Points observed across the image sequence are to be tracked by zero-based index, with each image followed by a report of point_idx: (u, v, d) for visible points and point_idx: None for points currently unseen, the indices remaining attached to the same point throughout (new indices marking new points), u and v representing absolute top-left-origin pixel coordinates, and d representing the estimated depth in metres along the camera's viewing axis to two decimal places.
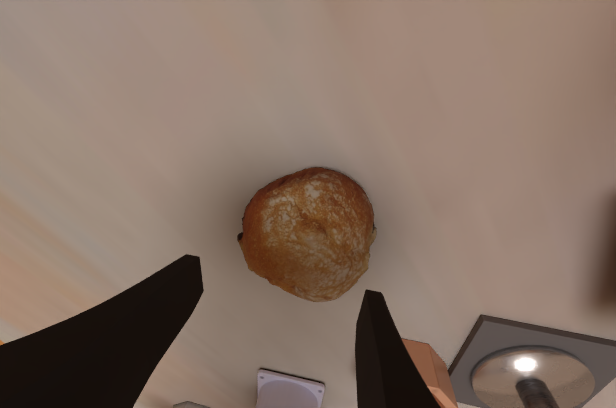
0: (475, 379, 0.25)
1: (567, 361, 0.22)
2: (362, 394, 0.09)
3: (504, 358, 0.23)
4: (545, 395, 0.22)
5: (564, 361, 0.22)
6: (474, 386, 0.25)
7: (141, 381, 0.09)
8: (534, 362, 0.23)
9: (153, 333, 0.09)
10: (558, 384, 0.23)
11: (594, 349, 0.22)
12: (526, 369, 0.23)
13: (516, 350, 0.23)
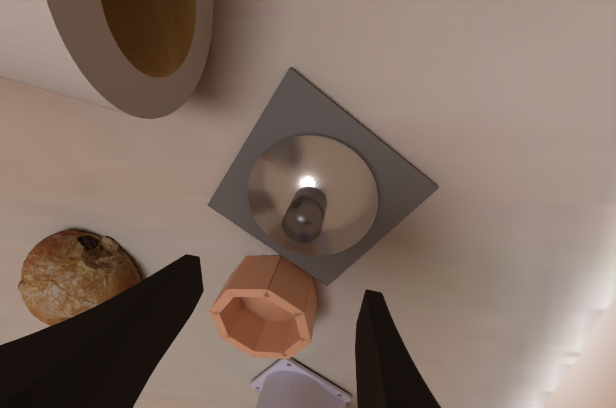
0: (283, 245, 0.21)
1: (267, 156, 0.18)
2: (362, 394, 0.09)
3: (252, 211, 0.20)
4: (291, 201, 0.18)
5: (266, 159, 0.18)
6: (296, 251, 0.21)
7: (141, 381, 0.09)
8: (263, 187, 0.19)
9: (153, 333, 0.09)
10: (310, 174, 0.18)
11: (272, 119, 0.17)
12: (275, 197, 0.19)
13: None
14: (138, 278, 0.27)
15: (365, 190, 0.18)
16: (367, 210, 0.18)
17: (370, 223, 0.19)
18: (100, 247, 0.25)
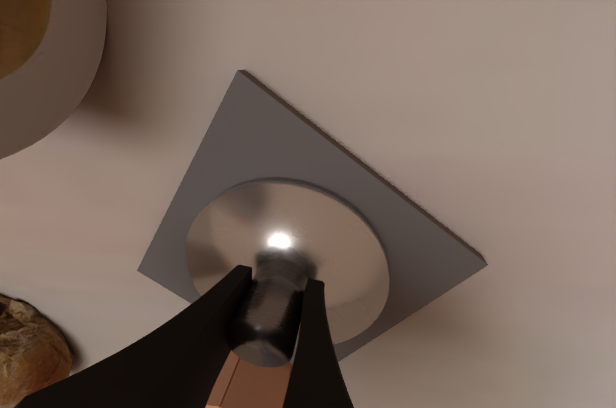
0: None
1: (211, 213, 0.11)
2: None
3: (197, 287, 0.13)
4: (248, 288, 0.11)
5: (210, 217, 0.11)
6: None
7: (205, 397, 0.09)
8: (209, 256, 0.12)
9: (216, 348, 0.09)
10: (280, 242, 0.11)
11: (217, 154, 0.11)
12: (228, 270, 0.12)
13: None
14: (65, 351, 0.20)
15: (369, 267, 0.11)
16: (372, 295, 0.12)
17: (376, 312, 0.12)
18: (7, 315, 0.19)
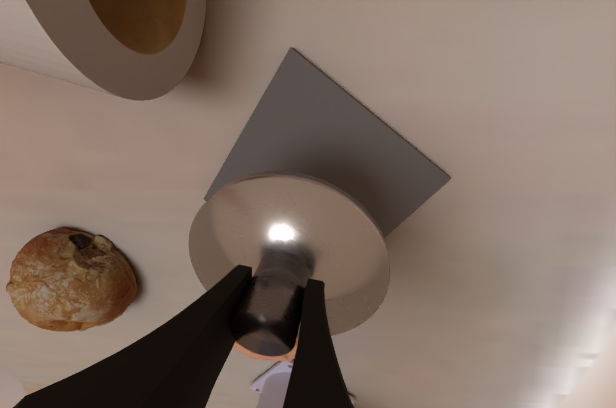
0: None
1: (213, 206, 0.11)
2: None
3: (200, 279, 0.13)
4: (251, 280, 0.11)
5: (212, 211, 0.11)
6: None
7: (205, 397, 0.09)
8: (212, 249, 0.12)
9: (216, 348, 0.09)
10: (282, 235, 0.11)
11: (272, 105, 0.16)
12: (231, 263, 0.13)
13: None
14: (133, 279, 0.26)
15: (369, 260, 0.11)
16: (373, 287, 0.12)
17: (377, 304, 0.12)
18: (93, 246, 0.24)
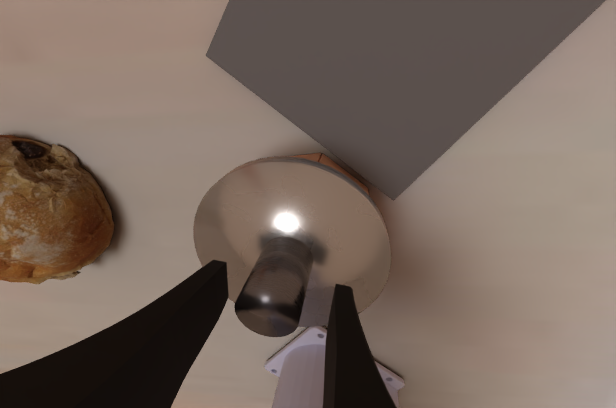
0: None
1: (222, 189, 0.11)
2: (326, 385, 0.09)
3: (202, 263, 0.14)
4: (256, 262, 0.11)
5: (220, 193, 0.11)
6: None
7: (174, 390, 0.09)
8: (216, 232, 0.12)
9: (185, 341, 0.09)
10: (288, 220, 0.12)
11: None
12: (235, 247, 0.13)
13: None
14: (108, 212, 0.19)
15: (372, 247, 0.11)
16: (374, 275, 0.12)
17: (376, 292, 0.13)
18: (48, 159, 0.17)
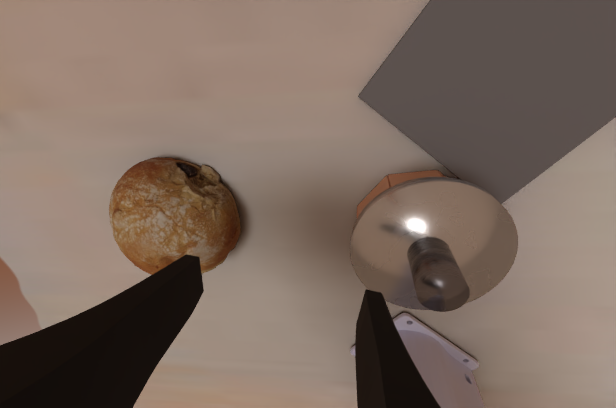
0: None
1: (388, 201, 0.15)
2: (362, 394, 0.09)
3: (352, 259, 0.17)
4: (417, 257, 0.15)
5: (386, 204, 0.15)
6: (396, 303, 0.18)
7: (141, 381, 0.09)
8: (373, 234, 0.16)
9: (153, 333, 0.09)
10: (437, 224, 0.15)
11: None
12: (385, 246, 0.16)
13: None
14: (238, 220, 0.23)
15: (502, 245, 0.15)
16: (498, 266, 0.16)
17: (498, 280, 0.16)
18: (200, 177, 0.21)
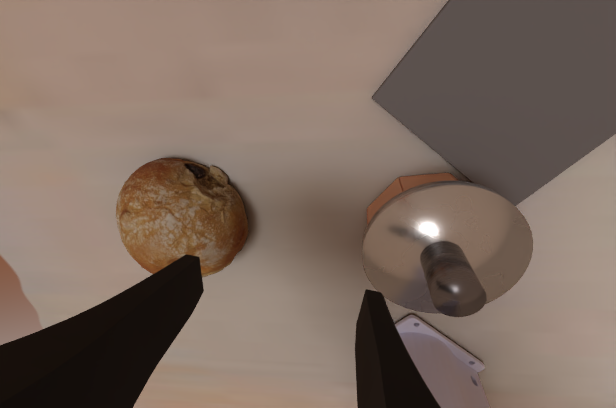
0: (391, 300, 0.18)
1: (402, 205, 0.15)
2: (362, 394, 0.09)
3: (364, 262, 0.17)
4: (431, 261, 0.15)
5: (400, 208, 0.15)
6: (407, 307, 0.18)
7: (141, 381, 0.09)
8: (386, 238, 0.16)
9: (153, 333, 0.09)
10: (452, 228, 0.15)
11: None
12: (398, 249, 0.16)
13: (362, 243, 0.17)
14: (246, 221, 0.22)
15: (517, 250, 0.15)
16: (512, 271, 0.16)
17: (510, 285, 0.16)
18: (208, 178, 0.21)
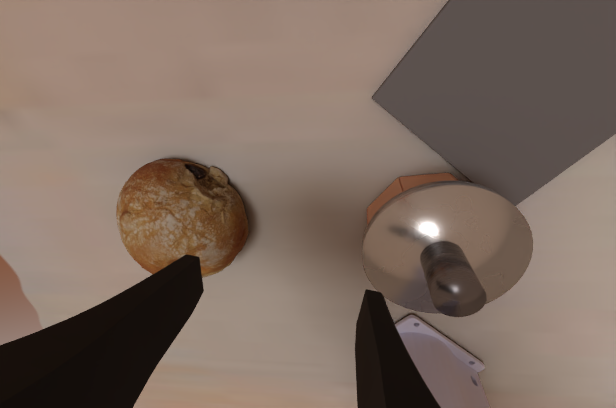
0: (391, 300, 0.18)
1: (402, 205, 0.15)
2: (362, 394, 0.09)
3: (364, 262, 0.17)
4: (431, 261, 0.15)
5: (400, 208, 0.15)
6: (407, 307, 0.18)
7: (141, 381, 0.09)
8: (386, 238, 0.16)
9: (153, 333, 0.09)
10: (452, 228, 0.15)
11: None
12: (398, 249, 0.16)
13: (362, 243, 0.17)
14: (246, 222, 0.22)
15: (517, 250, 0.15)
16: (512, 271, 0.16)
17: (510, 285, 0.16)
18: (208, 179, 0.21)
